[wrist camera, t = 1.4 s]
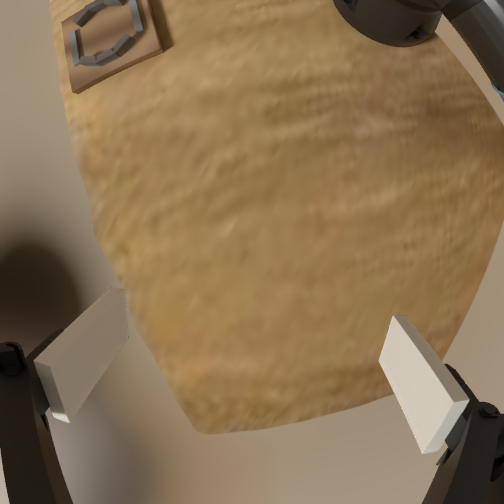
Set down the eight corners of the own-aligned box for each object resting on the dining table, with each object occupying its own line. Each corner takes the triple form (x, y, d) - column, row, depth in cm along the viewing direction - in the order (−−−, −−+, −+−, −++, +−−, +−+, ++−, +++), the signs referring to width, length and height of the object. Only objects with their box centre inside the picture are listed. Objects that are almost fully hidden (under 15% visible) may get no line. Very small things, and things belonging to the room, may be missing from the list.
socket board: (66, 25, 30) (55, 18, 27) (144, -16, 29) (137, -27, 26) (78, 94, 34) (65, 90, 30) (163, 52, 32) (155, 43, 29)
